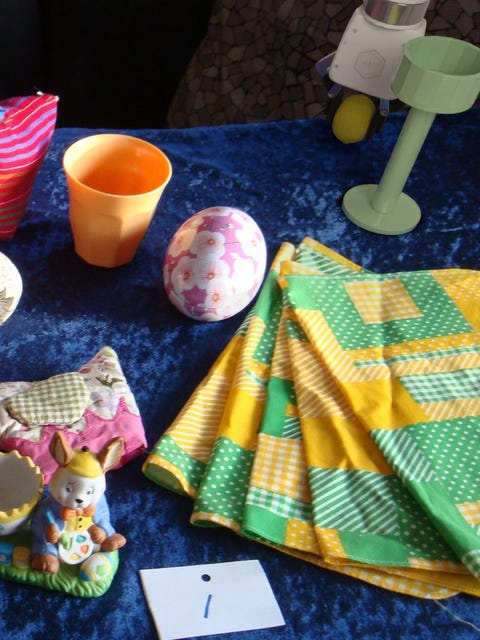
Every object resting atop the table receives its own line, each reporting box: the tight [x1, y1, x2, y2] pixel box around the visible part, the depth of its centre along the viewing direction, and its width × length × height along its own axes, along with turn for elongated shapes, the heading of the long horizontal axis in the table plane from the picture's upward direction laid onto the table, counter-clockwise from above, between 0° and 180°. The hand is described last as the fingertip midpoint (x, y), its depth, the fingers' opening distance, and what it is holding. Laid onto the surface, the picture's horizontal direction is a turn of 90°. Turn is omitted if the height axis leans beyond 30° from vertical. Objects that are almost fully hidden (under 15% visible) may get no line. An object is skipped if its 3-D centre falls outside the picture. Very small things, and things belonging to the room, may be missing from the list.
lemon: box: [331, 93, 376, 145], centre depth 121 cm, size 6×6×8 cm
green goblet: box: [341, 35, 480, 236], centre depth 105 cm, size 10×10×23 cm
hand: (351, 126), depth 122 cm, fingers closed on lemon, 5 cm apart
